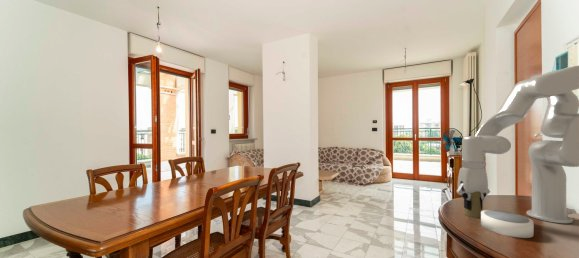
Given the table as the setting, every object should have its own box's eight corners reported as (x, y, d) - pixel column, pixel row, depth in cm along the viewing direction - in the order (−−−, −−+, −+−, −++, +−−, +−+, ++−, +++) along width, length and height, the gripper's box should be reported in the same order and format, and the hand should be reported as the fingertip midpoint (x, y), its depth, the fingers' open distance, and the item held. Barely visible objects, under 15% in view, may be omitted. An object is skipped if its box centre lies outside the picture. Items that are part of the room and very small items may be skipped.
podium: (505, 221, 93) (504, 208, 93) (545, 237, 79) (545, 222, 79) (471, 222, 92) (471, 209, 92) (506, 238, 78) (506, 224, 78)
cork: (477, 213, 102) (477, 187, 102) (485, 218, 96) (485, 191, 96) (461, 212, 103) (461, 186, 103) (468, 217, 97) (468, 190, 97)
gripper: (483, 163, 104) (484, 205, 104) (447, 164, 103) (447, 206, 103) (500, 166, 96) (500, 211, 96) (461, 167, 95) (461, 212, 95)
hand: (473, 208), depth 100 cm, fingers closed on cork, 4 cm apart
